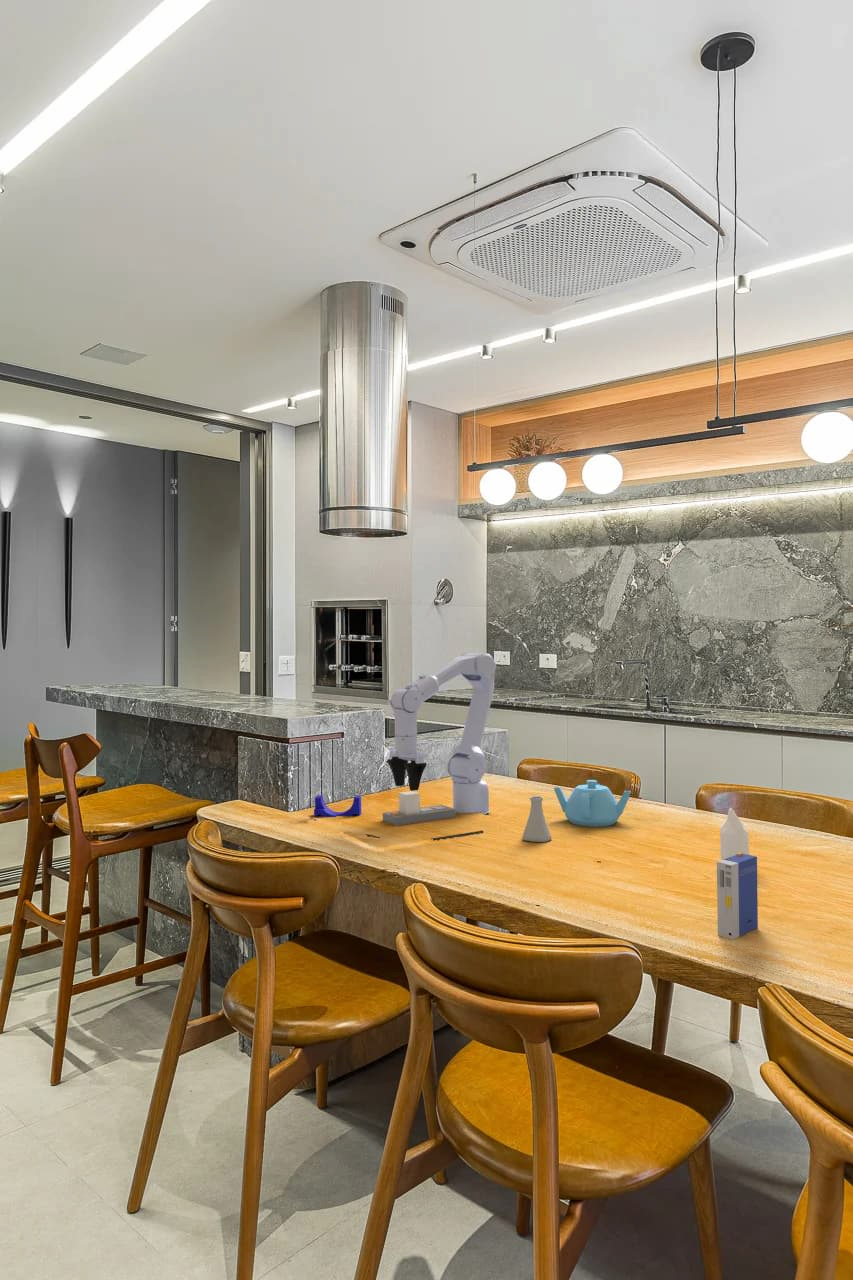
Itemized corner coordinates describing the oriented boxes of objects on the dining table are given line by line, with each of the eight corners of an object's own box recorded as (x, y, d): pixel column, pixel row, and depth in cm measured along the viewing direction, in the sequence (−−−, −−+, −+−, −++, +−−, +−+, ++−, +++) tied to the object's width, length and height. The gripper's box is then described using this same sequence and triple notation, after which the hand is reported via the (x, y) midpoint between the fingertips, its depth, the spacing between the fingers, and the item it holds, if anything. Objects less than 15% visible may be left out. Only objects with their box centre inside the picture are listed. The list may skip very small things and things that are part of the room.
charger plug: (412, 817, 214) (412, 791, 214) (420, 820, 211) (419, 793, 211) (399, 819, 212) (398, 792, 212) (406, 822, 209) (406, 795, 209)
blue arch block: (313, 821, 217) (313, 798, 217) (317, 817, 221) (317, 795, 221) (358, 821, 216) (358, 798, 216) (361, 817, 220) (361, 795, 220)
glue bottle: (753, 811, 165) (725, 811, 165) (754, 870, 165) (726, 870, 165) (742, 805, 171) (715, 805, 171) (743, 862, 171) (716, 862, 171)
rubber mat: (461, 825, 209) (461, 823, 209) (483, 833, 200) (483, 831, 200) (413, 832, 202) (413, 830, 202) (435, 840, 193) (434, 838, 193)
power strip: (441, 816, 221) (441, 803, 221) (455, 820, 215) (455, 807, 215) (382, 824, 211) (382, 811, 211) (395, 829, 205) (395, 815, 205)
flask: (556, 837, 195) (555, 795, 195) (547, 844, 189) (546, 801, 189) (527, 834, 198) (526, 793, 198) (517, 841, 192) (516, 798, 192)
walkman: (742, 923, 135) (741, 851, 135) (758, 928, 132) (757, 854, 132) (716, 935, 129) (715, 859, 130) (732, 940, 127) (731, 863, 127)
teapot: (550, 818, 216) (550, 778, 216) (598, 813, 222) (597, 773, 222) (584, 831, 202) (583, 787, 202) (633, 824, 208) (633, 782, 208)
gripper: (379, 734, 215) (380, 785, 215) (406, 739, 203) (407, 794, 203) (402, 732, 219) (403, 782, 219) (430, 737, 207) (431, 790, 207)
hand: (406, 788), depth 211 cm, fingers open, 7 cm apart
